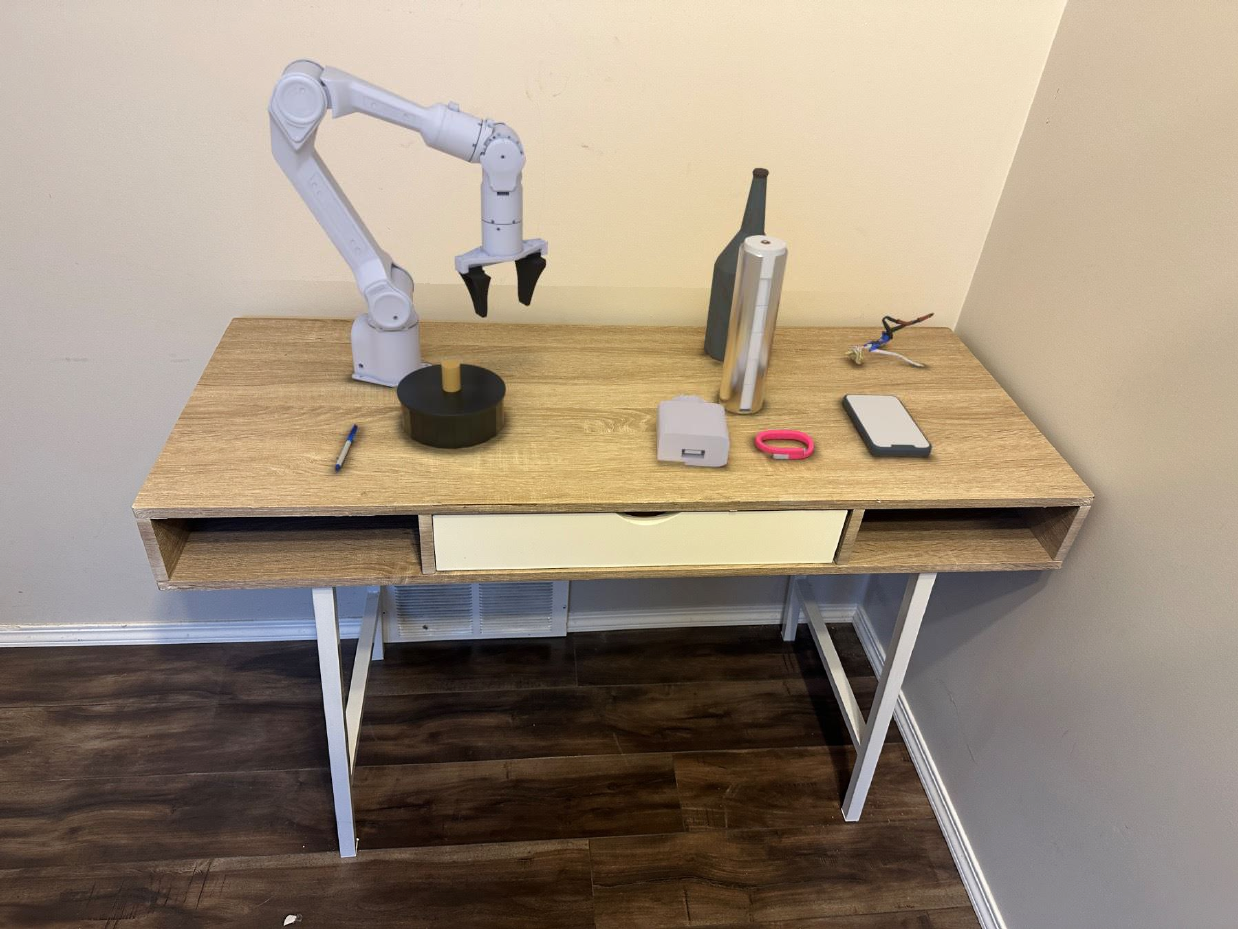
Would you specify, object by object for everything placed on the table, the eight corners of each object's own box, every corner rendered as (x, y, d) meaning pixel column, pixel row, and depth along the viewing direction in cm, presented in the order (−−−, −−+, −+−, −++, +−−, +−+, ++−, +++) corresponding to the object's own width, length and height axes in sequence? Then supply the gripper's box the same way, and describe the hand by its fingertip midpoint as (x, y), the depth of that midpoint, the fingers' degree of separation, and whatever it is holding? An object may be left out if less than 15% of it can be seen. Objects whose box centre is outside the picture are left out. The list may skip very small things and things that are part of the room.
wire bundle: (825, 389, 154) (925, 347, 157) (851, 398, 146) (955, 353, 149) (810, 333, 151) (912, 291, 154) (835, 338, 143) (943, 294, 146)
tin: (384, 439, 120) (381, 404, 117) (431, 393, 131) (429, 360, 128) (478, 461, 117) (477, 425, 114) (518, 412, 128) (518, 378, 125)
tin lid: (382, 381, 123) (379, 351, 121) (480, 362, 130) (479, 332, 127) (419, 432, 113) (416, 399, 111) (523, 408, 120) (523, 377, 117)
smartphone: (838, 402, 137) (870, 458, 124) (840, 393, 136) (873, 448, 123) (895, 403, 138) (933, 459, 124) (897, 394, 137) (936, 449, 123)
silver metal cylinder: (767, 399, 136) (795, 238, 122) (754, 418, 131) (781, 252, 117) (726, 389, 138) (749, 229, 124) (712, 407, 133) (734, 242, 119)
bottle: (775, 352, 149) (807, 169, 133) (749, 374, 142) (780, 183, 126) (719, 335, 154) (744, 155, 137) (692, 355, 147) (714, 168, 130)
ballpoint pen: (352, 428, 122) (351, 422, 121) (358, 428, 122) (358, 422, 121) (334, 472, 113) (333, 465, 112) (341, 472, 113) (340, 465, 112)
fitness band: (759, 459, 122) (760, 449, 121) (750, 436, 127) (752, 427, 126) (817, 460, 122) (819, 450, 122) (807, 437, 127) (809, 428, 126)
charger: (717, 411, 132) (726, 467, 119) (654, 407, 132) (656, 463, 119) (721, 382, 129) (730, 437, 117) (657, 378, 129) (659, 432, 117)
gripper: (528, 202, 131) (527, 289, 139) (441, 218, 123) (445, 310, 131) (557, 215, 127) (555, 305, 135) (469, 233, 119) (472, 328, 126)
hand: (503, 309), depth 132 cm, fingers open, 7 cm apart
